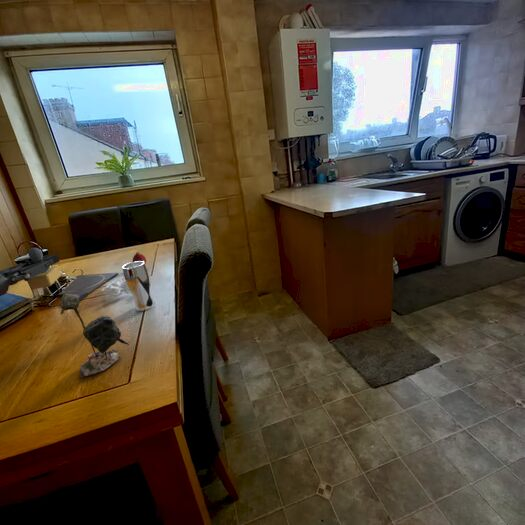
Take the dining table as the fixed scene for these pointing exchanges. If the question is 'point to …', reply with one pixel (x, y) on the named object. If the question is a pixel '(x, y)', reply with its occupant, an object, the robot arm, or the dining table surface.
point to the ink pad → (80, 295)
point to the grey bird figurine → (96, 338)
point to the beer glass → (139, 284)
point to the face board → (87, 283)
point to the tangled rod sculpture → (116, 288)
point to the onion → (139, 257)
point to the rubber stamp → (45, 277)
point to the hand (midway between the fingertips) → (53, 258)
